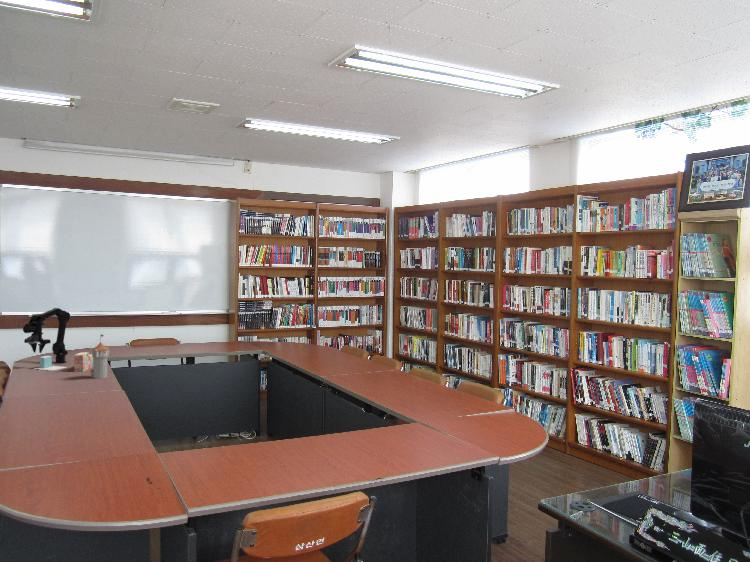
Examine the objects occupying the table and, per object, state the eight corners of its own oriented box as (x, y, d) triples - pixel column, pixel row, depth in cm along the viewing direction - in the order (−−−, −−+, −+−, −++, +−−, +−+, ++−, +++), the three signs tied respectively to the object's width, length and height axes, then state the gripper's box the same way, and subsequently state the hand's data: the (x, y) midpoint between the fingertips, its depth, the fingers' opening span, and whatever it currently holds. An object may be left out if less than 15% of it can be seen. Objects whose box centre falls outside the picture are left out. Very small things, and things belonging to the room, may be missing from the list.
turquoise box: (47, 366, 442) (47, 355, 441) (51, 366, 441) (51, 356, 440) (39, 368, 435) (39, 357, 435) (44, 368, 434) (44, 357, 434)
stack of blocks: (84, 366, 448) (84, 350, 447) (93, 366, 449) (93, 350, 448) (74, 371, 427) (74, 354, 426) (83, 371, 428) (83, 354, 427)
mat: (48, 366, 446) (48, 365, 446) (66, 367, 442) (66, 366, 442) (33, 369, 432) (33, 368, 432) (51, 370, 428) (51, 370, 428)
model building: (100, 379, 402) (100, 335, 401) (84, 378, 404) (84, 334, 403) (113, 375, 415) (113, 333, 414) (98, 374, 418) (98, 332, 417)
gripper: (18, 332, 433) (18, 353, 434) (39, 333, 429) (39, 355, 429) (30, 330, 444) (30, 351, 445) (51, 331, 439) (51, 352, 440)
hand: (37, 352), depth 439 cm, fingers open, 5 cm apart
